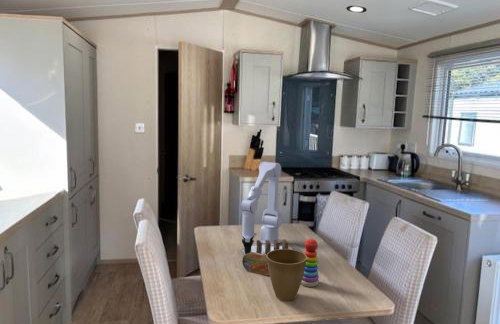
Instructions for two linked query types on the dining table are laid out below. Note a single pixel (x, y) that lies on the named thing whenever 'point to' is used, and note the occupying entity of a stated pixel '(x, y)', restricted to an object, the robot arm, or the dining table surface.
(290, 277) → the plant pot
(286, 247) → the domino
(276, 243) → the domino
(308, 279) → the stacking toy
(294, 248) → the stop block
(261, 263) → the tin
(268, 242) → the domino
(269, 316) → the dining table surface
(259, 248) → the domino
